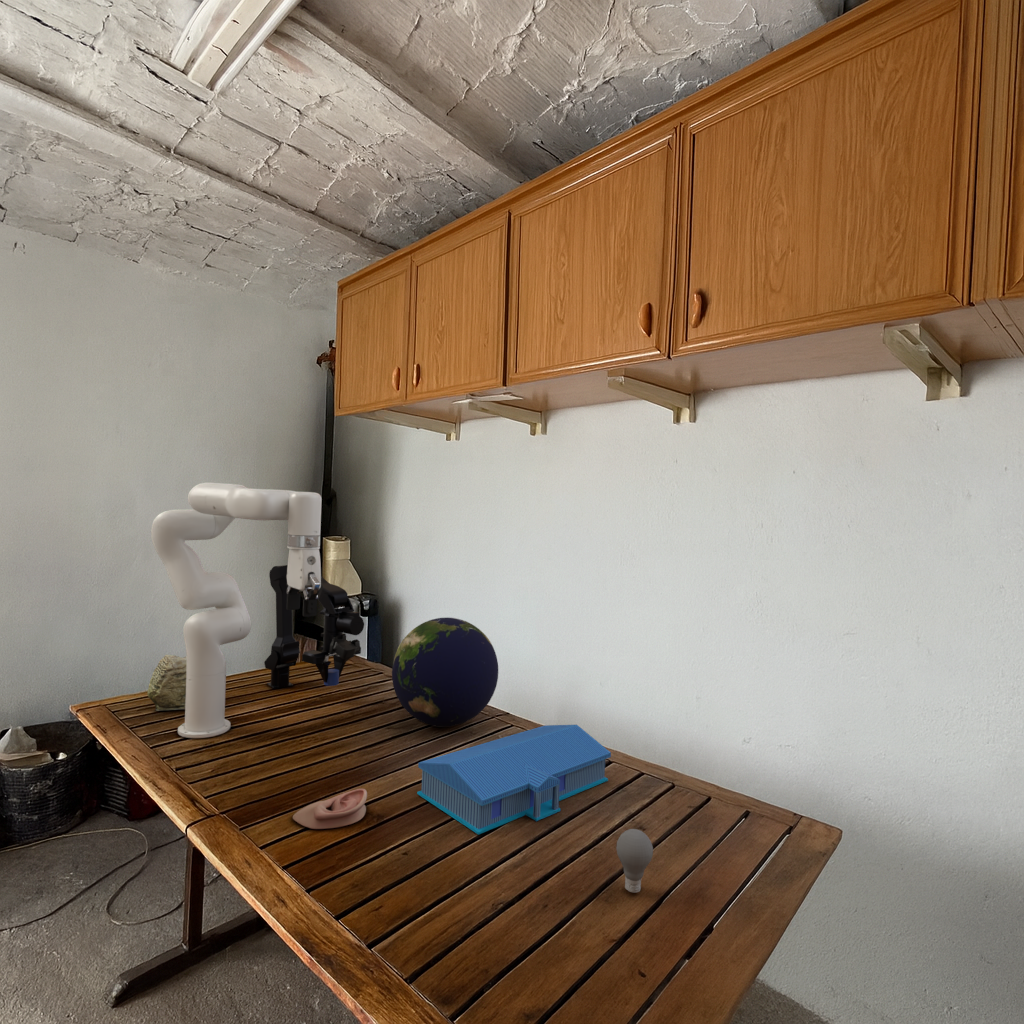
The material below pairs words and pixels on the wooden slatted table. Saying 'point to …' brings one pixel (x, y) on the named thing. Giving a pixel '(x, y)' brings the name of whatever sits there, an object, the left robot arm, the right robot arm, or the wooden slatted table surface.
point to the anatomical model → (334, 811)
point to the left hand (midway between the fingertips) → (301, 612)
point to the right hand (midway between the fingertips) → (331, 680)
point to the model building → (514, 776)
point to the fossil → (169, 683)
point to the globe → (445, 672)
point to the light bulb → (634, 857)
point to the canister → (332, 677)
